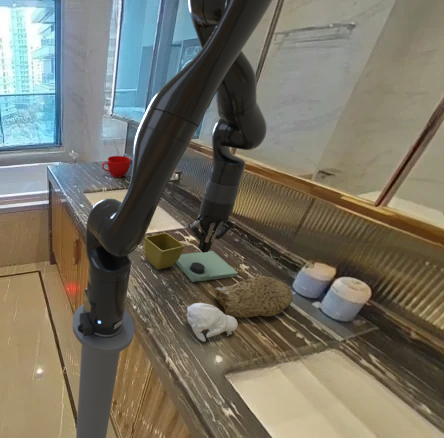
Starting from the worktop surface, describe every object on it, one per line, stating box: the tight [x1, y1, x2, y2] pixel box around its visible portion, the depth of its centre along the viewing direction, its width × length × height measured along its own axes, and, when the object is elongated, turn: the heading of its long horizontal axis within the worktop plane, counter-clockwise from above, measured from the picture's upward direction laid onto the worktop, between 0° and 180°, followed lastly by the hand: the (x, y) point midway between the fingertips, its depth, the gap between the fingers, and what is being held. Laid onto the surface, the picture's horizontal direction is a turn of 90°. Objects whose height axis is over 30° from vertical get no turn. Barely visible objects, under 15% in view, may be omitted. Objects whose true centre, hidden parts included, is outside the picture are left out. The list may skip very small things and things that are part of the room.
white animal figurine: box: [186, 302, 239, 342], centre depth 68 cm, size 6×8×12 cm
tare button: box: [190, 262, 205, 274], centre depth 86 cm, size 4×4×2 cm
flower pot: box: [144, 232, 186, 271], centre depth 91 cm, size 9×9×9 cm
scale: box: [175, 250, 239, 283], centre depth 90 cm, size 16×13×3 cm
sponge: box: [214, 275, 294, 319], centre depth 76 cm, size 13×8×20 cm
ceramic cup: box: [101, 155, 132, 179], centre depth 164 cm, size 13×17×10 cm
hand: (203, 250), depth 82 cm, fingers closed
